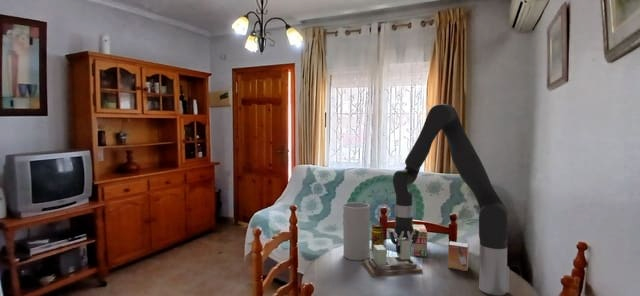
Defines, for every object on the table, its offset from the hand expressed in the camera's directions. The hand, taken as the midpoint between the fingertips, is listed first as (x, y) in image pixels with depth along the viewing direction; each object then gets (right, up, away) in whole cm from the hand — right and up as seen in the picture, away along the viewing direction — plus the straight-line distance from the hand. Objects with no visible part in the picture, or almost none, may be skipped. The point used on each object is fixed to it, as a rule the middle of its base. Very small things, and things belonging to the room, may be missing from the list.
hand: (403, 252), depth 148 cm
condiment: (-7, -6, +26) cm, 27 cm away
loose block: (0, -2, 0) cm, 2 cm away
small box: (+24, -6, 0) cm, 25 cm away
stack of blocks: (+13, -6, +24) cm, 28 cm away
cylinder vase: (-19, -6, +14) cm, 25 cm away
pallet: (-5, -6, 0) cm, 8 cm away
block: (-11, -5, -1) cm, 12 cm away
